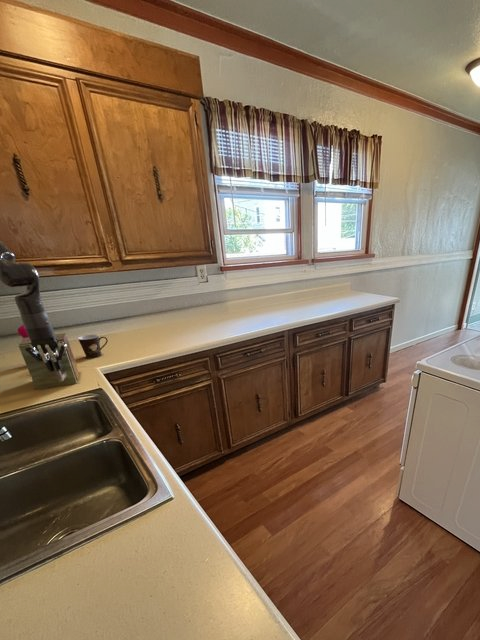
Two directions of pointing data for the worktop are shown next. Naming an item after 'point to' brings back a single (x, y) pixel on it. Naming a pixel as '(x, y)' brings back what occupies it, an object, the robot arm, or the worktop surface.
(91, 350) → the coffee mug
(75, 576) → the worktop surface
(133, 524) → the worktop surface
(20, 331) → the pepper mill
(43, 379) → the cupboard door
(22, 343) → the cupboard
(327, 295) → the worktop surface
